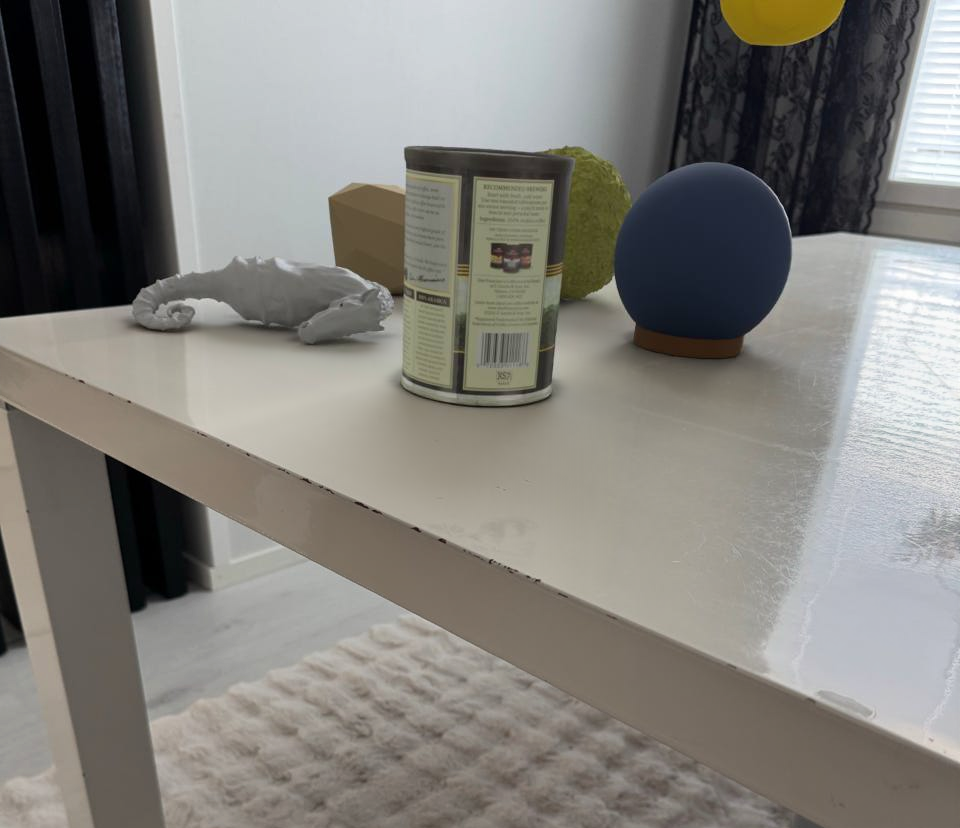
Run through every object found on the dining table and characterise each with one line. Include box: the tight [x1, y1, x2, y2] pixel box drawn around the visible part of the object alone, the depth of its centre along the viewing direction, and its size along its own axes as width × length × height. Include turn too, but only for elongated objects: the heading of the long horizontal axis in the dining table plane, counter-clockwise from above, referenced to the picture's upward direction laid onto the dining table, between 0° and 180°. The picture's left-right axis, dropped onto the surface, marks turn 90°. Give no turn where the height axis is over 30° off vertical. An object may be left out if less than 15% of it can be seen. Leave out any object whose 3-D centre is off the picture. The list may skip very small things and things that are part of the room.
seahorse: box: [131, 255, 395, 345], centre depth 74 cm, size 5×12×20 cm
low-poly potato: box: [327, 182, 406, 295], centre depth 92 cm, size 15×11×12 cm
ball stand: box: [614, 161, 793, 359], centre depth 77 cm, size 14×14×14 cm
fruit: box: [535, 144, 634, 301], centre depth 95 cm, size 16×14×15 cm
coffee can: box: [400, 145, 575, 407], centre depth 61 cm, size 10×10×14 cm
